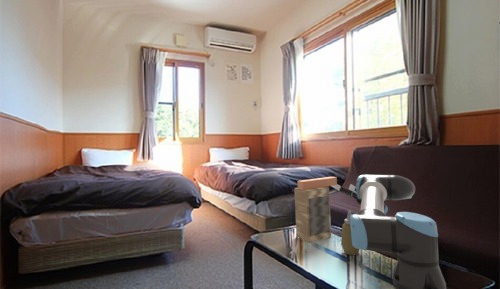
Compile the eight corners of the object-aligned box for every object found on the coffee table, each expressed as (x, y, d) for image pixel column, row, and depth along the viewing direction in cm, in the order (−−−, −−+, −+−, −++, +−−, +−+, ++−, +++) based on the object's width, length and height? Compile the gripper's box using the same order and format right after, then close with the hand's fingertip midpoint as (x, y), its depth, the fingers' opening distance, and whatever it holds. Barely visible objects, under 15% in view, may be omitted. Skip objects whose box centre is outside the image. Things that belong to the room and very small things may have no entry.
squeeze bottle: (363, 256, 120) (361, 213, 120) (342, 256, 122) (340, 213, 121) (359, 249, 128) (357, 208, 128) (340, 249, 129) (338, 208, 129)
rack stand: (318, 232, 154) (316, 185, 154) (331, 237, 145) (329, 187, 145) (296, 236, 148) (294, 188, 148) (309, 242, 139) (306, 190, 139)
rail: (331, 184, 155) (331, 176, 155) (337, 185, 151) (336, 177, 151) (297, 188, 145) (297, 180, 145) (302, 189, 142) (302, 181, 141)
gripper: (382, 210, 152) (356, 194, 144) (347, 202, 174) (322, 188, 166) (387, 197, 153) (361, 181, 145) (351, 191, 176) (327, 176, 168)
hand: (340, 185), depth 156 cm, fingers open, 13 cm apart
